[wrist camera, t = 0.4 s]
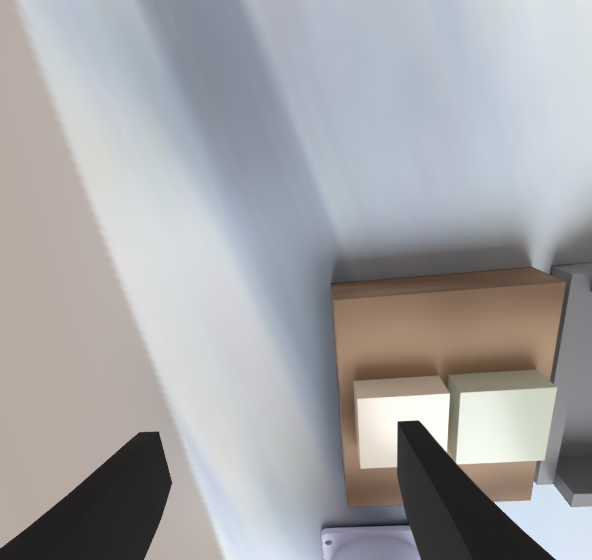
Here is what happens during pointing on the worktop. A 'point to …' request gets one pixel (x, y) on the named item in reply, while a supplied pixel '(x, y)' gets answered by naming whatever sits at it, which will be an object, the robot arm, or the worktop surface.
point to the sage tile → (499, 416)
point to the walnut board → (441, 353)
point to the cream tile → (397, 415)
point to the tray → (571, 392)
